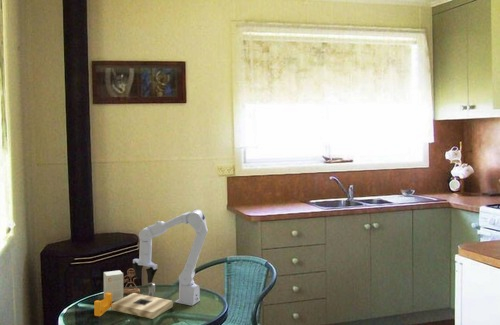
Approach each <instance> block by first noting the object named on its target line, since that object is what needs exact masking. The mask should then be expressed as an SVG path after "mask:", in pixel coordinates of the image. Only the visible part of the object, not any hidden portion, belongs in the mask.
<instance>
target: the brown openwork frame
mask: <svg viewBox="0 0 500 325" xmlns="http://www.w3.org/2000/svg"><path fill="white" fill-rule="evenodd" d="M126 273H127V274H126V275H125V276H123V284H124V283H126V282H127V283H126V285H125V287H123V295H125V294H128V295H130V294H132V293H137V294H141V290H140V288H138V287H137V285H136V284H135V280H137V278H136V274H135V271H134V268H128V269H127V271H126ZM126 277H129V278H126ZM133 277H134V278H133ZM125 278H126V279H125ZM132 278H133V281H132ZM128 279H130V280H129V281H128ZM128 284H130V285H129V286H128ZM132 284H133V285H134V287H133V285H132ZM130 287H131V288H130Z"/></svg>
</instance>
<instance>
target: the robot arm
mask: <svg viewBox="0 0 500 325" xmlns="http://www.w3.org/2000/svg"><path fill="white" fill-rule="evenodd" d="M206 219H207V218H206V215H205V214H204V212H203V211H202V210H201V209H198V208H197V209H194V210H190V211H187V212H184V213H182V214H180V215H178V216H175V217H173V218H171V219H169V220H167V221H163V220H157V221H156V222H155V223H154V224H152V225H147V227H144V228H142V229H141V230H139V232H138V239H139V256H138V257H139V258H134V259H132V269H134V271H135V273H134V275H135V274H136V275H135V278H136V280H141V279H142V272H143V268H144V267H147V268H146V269H145V270H146V273H147V284H149V283H153V280H154V277H155V274H156V273H157V271H158V264H156V263H154V262H153V261H152V253H153V252H152V251H153V250H152V249H153V238H156V237H158V236H161V235H163V234H165V233H167V232H168V229H170V228H172V227H175V226H176V225H180V224H184V225H188V224H189V226H191V227H192V228H193V230H194V231H195V233H196V234H195V237H194V240H193V243H192V246H191V249H190V252H189V254H188V256H187V260H186V262H185V265H184V268H182V272H180V274H179V275H178V277H177V278H178V299H176V300H175V301H174V303H177V304H182V305H188V306H194V305H196V304H197V303H199V302H200V301H201V299H200V297H201V296H200V294H201V287H200V285H198V284H196V283H195V281H194V277H195V276H196V267H197V266H196V265H197V263H198V261H199V257H200V254H201V252H202V249H203V246H204V244H205V240H206V238H207V235H208V232H209V229H208V226H207V220H206Z"/></svg>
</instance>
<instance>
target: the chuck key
mask: <svg viewBox="0 0 500 325" xmlns="http://www.w3.org/2000/svg"><path fill="white" fill-rule="evenodd" d="M147 286H148V296H152V297H156V281H152V282H151V283H148V285H147Z"/></svg>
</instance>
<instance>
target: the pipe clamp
mask: <svg viewBox="0 0 500 325" xmlns="http://www.w3.org/2000/svg"><path fill="white" fill-rule="evenodd" d="M112 303H113V302H112V293H106V294H105V298H104V297H103V299H101V300H97V299H96V300H95V301H94V304H93V305H94V306H93V307H94V308H93V309H94V311H93V312H94V314H93V316H94V317H101V316H102V315H104V314H105V313H106V312H107V311H108V310H110V309H112Z"/></svg>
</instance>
